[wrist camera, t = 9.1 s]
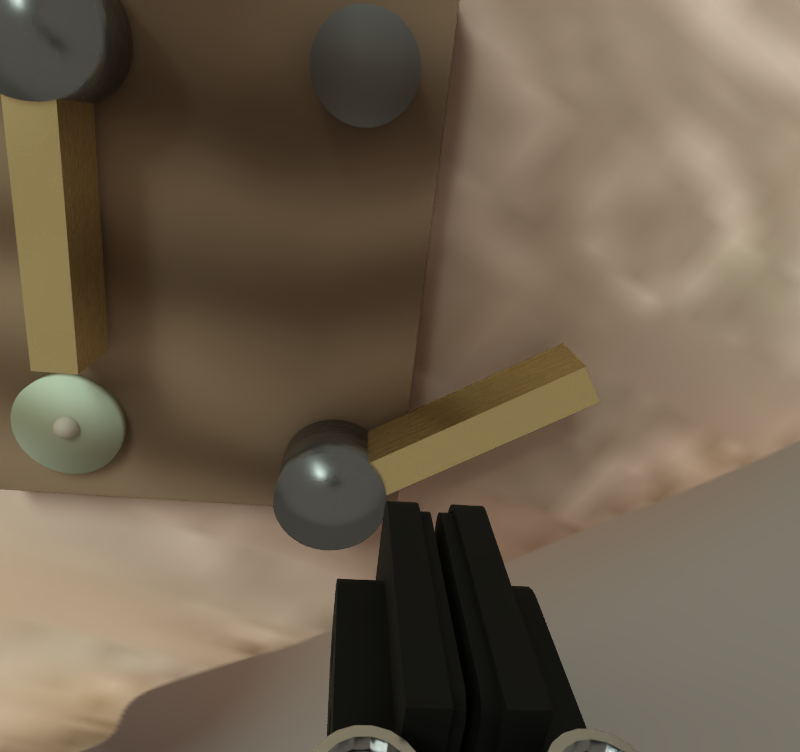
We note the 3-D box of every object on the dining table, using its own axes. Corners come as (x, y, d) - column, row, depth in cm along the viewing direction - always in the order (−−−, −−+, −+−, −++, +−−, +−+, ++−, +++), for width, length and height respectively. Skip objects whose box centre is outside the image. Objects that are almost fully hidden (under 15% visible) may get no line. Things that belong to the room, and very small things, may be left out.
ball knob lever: (-14, -54, 19) (-77, -86, 17) (130, -34, 20) (92, -62, 17) (29, 343, 24) (-15, 369, 21) (144, 352, 25) (117, 379, 22)
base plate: (-57, -75, 21) (-135, -115, 18) (454, -3, 22) (470, -28, 19) (12, 471, 28) (-34, 514, 25) (393, 495, 30) (397, 539, 26)
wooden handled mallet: (312, 523, 28) (306, 566, 25) (263, 445, 26) (251, 481, 23) (586, 403, 26) (612, 434, 24) (551, 313, 25) (575, 335, 22)
